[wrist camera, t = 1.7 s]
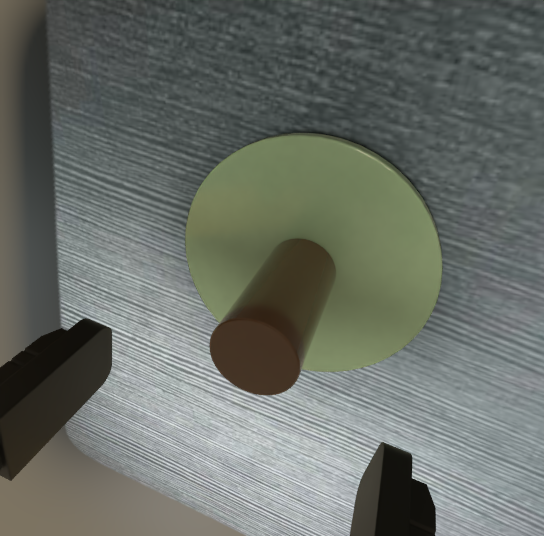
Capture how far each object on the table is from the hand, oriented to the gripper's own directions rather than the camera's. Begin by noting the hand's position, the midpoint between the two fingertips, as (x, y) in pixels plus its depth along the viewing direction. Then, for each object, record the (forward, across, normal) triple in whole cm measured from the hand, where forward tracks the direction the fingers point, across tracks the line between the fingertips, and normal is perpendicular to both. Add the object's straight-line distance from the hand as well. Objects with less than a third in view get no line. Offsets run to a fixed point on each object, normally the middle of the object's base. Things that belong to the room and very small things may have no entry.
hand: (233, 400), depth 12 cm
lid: (+8, 0, 0) cm, 8 cm away
